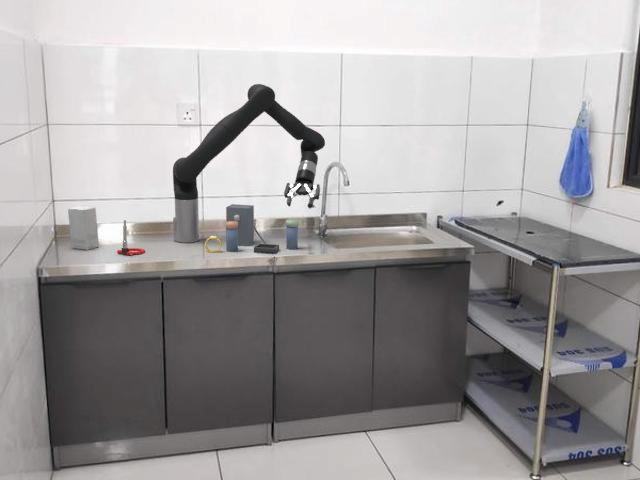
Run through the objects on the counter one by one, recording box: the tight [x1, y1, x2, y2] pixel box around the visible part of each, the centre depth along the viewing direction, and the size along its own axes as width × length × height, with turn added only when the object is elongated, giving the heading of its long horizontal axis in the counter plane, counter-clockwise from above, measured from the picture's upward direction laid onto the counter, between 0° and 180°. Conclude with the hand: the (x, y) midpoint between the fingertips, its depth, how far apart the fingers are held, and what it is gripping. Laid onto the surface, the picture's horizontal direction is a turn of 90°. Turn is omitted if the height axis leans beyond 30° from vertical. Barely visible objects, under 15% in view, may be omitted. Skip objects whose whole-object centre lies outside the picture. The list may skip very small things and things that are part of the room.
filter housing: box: [225, 203, 255, 247], centre depth 263 cm, size 9×8×15 cm
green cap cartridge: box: [285, 219, 299, 251], centre depth 257 cm, size 5×5×11 cm
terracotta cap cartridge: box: [224, 221, 239, 253], centre depth 251 cm, size 5×5×11 cm
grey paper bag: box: [67, 205, 100, 251], centre depth 251 cm, size 8×7×16 cm
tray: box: [253, 243, 280, 255], centre depth 252 cm, size 8×7×2 cm
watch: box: [204, 235, 222, 253], centre depth 249 cm, size 6×3×6 cm, turn 92°
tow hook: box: [116, 219, 146, 257], centre depth 245 cm, size 8×13×9 cm
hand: (299, 205), depth 265 cm, fingers open, 8 cm apart
